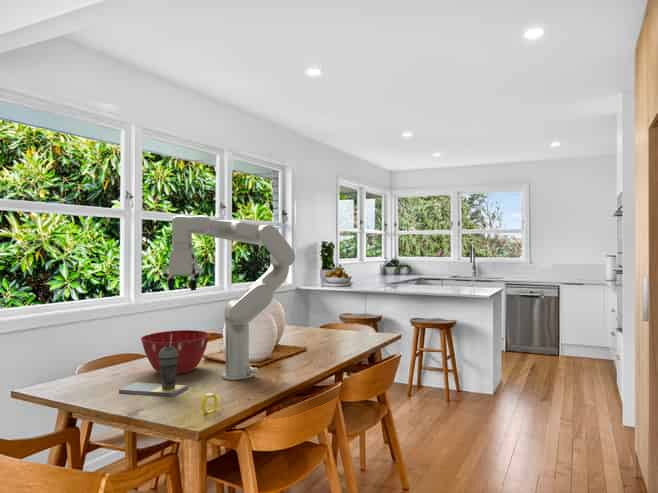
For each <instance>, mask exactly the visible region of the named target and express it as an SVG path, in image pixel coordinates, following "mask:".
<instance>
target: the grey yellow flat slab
mask: <svg viewBox="0 0 658 493" xmlns="http://www.w3.org/2000/svg"><path fill="white" fill-rule="evenodd" d="M185 390H188V385H185V384H175V389H172V390H162V385H161V383H153V382H152V383H147V382H133V383H131V384H128V385H126V386H124V387H122V388H120V389H119V388H118V394H128V395H129V394H130V395H132V394H133V395H144V396H146V395H147V396H161V397H174V396H176V395H178V394H181V393H182V392H184V391H185Z"/></svg>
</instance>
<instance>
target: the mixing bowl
mask: <svg viewBox="0 0 658 493" xmlns="http://www.w3.org/2000/svg"><path fill="white" fill-rule="evenodd" d="M171 334H172V341H171V346H173V347H174V348H175V349H176V350H177V352H178V356H179V357H178V362H177V371H176V376H177V375H183V374H184V375H185V374H187V373H190V372H192V371H193V370H194V369H196V368H197V367H198V365H199V364H200V363H201V361H202V358H203V356H204V354H205V352H206V348H207V346H208V345H207V344H208V341H209V336H210V333H209V332H207V331H203V330H196V329H195V330H190V329H187V330H186V329H185V330H181V329H180V330H169V331H167V330H166V331H160V332H154V333H148V334H146V335H144V336H142V337H140V341H141V344H142V348H143V350H144V354H145V355H146V357H147V360H148V361H149V364H150V366H152V368H153V370H155V371H156V372H158V373H160V364H159V359H158V356H159V352H160V350H161V349H162V348H163V347H165V346H170V338H171Z"/></svg>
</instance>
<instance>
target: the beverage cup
mask: <svg viewBox="0 0 658 493" xmlns="http://www.w3.org/2000/svg"><path fill="white" fill-rule="evenodd" d="M171 341H172V334H171V338H170V346H165V347H163V348H162V349H161V350H160V352H159V356H158V359H159V364H160V372H159V373H160V382H161V383H160V384H161V385H162V390H172V389H175V385H177V384H176V382H177V375H176V371H177V362H178V357H179V356H178V352H177V350H176V349H175V348H174V347H173V346H171Z"/></svg>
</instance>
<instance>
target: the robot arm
mask: <svg viewBox="0 0 658 493" xmlns="http://www.w3.org/2000/svg"><path fill="white" fill-rule="evenodd" d="M171 223H172V224H171V233H172V234H171V240H172V241H171V244H172V245H171V246H172V247H171V248H172V250H170V252H169V260H168V265H167V266H165V267H164V268H162V269H161V272H162V274H163V276H164V277H165V278H166V281H167V288H168V291H174V290H175V277H176V276H189V278H190V279H191V280H190V291H196V290H197V288H198V286H197V285H198V282H197V281H198V279H199V278H200V277H201V276H202V273H203V271H204V269H203V267H202V268H201V267H200V266H198V265H197V261H196V260H197V259H196V254H195V253H196V252H195V250H193V248H195V246H196V244H195V243H193V239H192V238H193V234H196V235H199V236H203V237H204V236H205V237H209V238H210V237H211V238H217V239H223V240H226V241H230V242H231V241H233V242H239V243H245V244H253V245H258V246H264V247H265V249H266V250H267V251H268V252H269V253H270V254H269V259H270V260H269V261H270V265H269V268H268V269H267V270H266V271H265V272H264V274H262V275H261V276H260V277H259V278H258V279H257V280H255V281H253V283H252V284H250V285H249V286H248V287H247V288H246V291H245V294H244V295H243V296H242V297H241V298H239V299H238V298H236V299H232V300H230V301H229V302H227V304H226V306H225V307H224V324H225V325H224V326H225V327H224V328H225V372H223V373H221V378H222V379H224V380H230V381H232V380H233V381H237V380H240V381H241V380H247V379H250V378H252V377H254V376H253V375H254V374H257V375H258V373H259V368H258V367H252V363H250V327H249V323H250V322H251V321H253V320H254V319H255V318H256V317H257V316H258V315H259V314H260V313H261V312H263V311H264V310H265V309H266V308H268V306H269V305H270V304H271V302H272V300H273V299H274V293H275V292H276V291H277V290H278V288H280V287H281V286H282V285H283V284H284V283H285V281H286V279H287V278H288V274H289V270H290V267H291V266H292V265H293V263H294V262H295V261H296V253H295V250H294V249H293V248H292V246H291V245H290V244H289V243H288V242H287V240H286V239H285V237H284V236H283V235H282V234H281V232H280V231H279V230H278V229H277V228H276V226H274V225H272V224H259V223H254V222H247V221H241V220H219V219H214V218H209V217H208V216H206V215H193V216H187V215H175V216H173V217H172V219H171Z"/></svg>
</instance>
